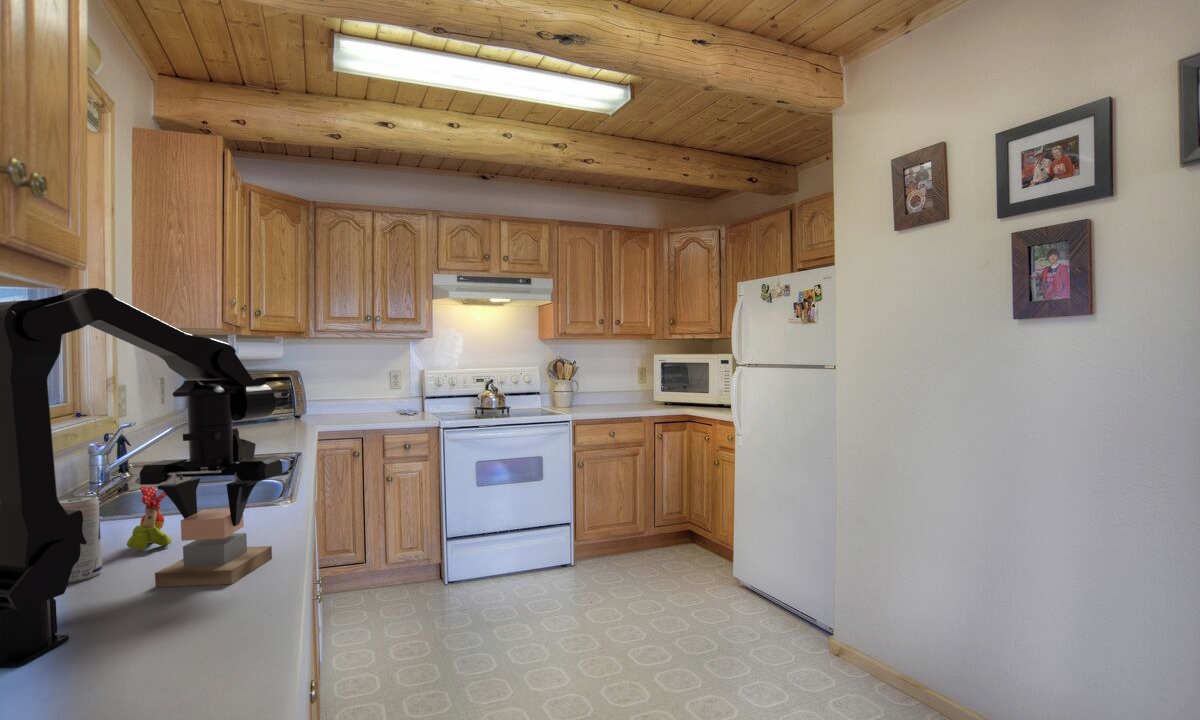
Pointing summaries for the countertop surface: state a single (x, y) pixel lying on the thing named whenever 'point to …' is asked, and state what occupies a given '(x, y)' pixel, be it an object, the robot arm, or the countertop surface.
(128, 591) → the countertop surface
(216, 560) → the gray brick
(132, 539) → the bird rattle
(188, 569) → the walnut tower base
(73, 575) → the energy drink
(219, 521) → the terracotta brick
